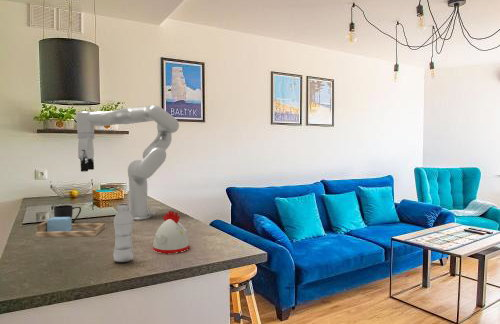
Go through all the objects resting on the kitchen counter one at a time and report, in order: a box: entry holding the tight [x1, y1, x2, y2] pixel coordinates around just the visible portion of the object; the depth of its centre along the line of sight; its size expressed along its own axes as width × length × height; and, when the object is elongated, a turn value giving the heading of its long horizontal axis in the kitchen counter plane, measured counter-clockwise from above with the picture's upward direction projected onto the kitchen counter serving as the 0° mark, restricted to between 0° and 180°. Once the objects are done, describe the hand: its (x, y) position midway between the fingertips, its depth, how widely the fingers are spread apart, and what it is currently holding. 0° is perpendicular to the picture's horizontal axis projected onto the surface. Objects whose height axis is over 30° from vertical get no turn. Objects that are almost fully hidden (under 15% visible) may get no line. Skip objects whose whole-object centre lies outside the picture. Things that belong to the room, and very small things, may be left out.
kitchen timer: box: [152, 210, 190, 253], centre depth 141 cm, size 14×14×15 cm
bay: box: [35, 220, 107, 238], centre depth 161 cm, size 24×16×6 cm, turn 96°
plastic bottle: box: [112, 203, 134, 263], centre depth 125 cm, size 6×7×20 cm
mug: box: [53, 204, 82, 224], centre depth 178 cm, size 8×12×10 cm
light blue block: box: [46, 216, 73, 232], centre depth 160 cm, size 8×6×6 cm
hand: (87, 170), depth 180 cm, fingers open, 9 cm apart
